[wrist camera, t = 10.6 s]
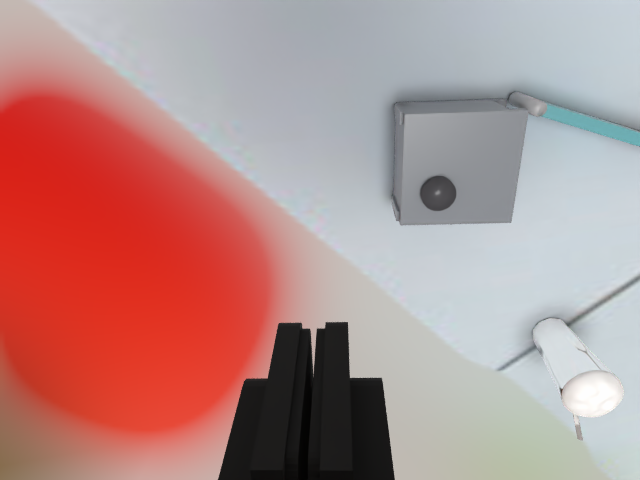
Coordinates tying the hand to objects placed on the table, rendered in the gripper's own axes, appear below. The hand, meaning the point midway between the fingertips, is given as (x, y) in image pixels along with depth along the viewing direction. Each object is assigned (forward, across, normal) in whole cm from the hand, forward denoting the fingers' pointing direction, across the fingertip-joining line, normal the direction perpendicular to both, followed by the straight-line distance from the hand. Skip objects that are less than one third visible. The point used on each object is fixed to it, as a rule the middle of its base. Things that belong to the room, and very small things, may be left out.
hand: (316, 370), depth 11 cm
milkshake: (+27, -20, +20) cm, 39 cm away
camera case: (+27, -9, +2) cm, 29 cm away
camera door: (+27, -20, 0) cm, 33 cm away
